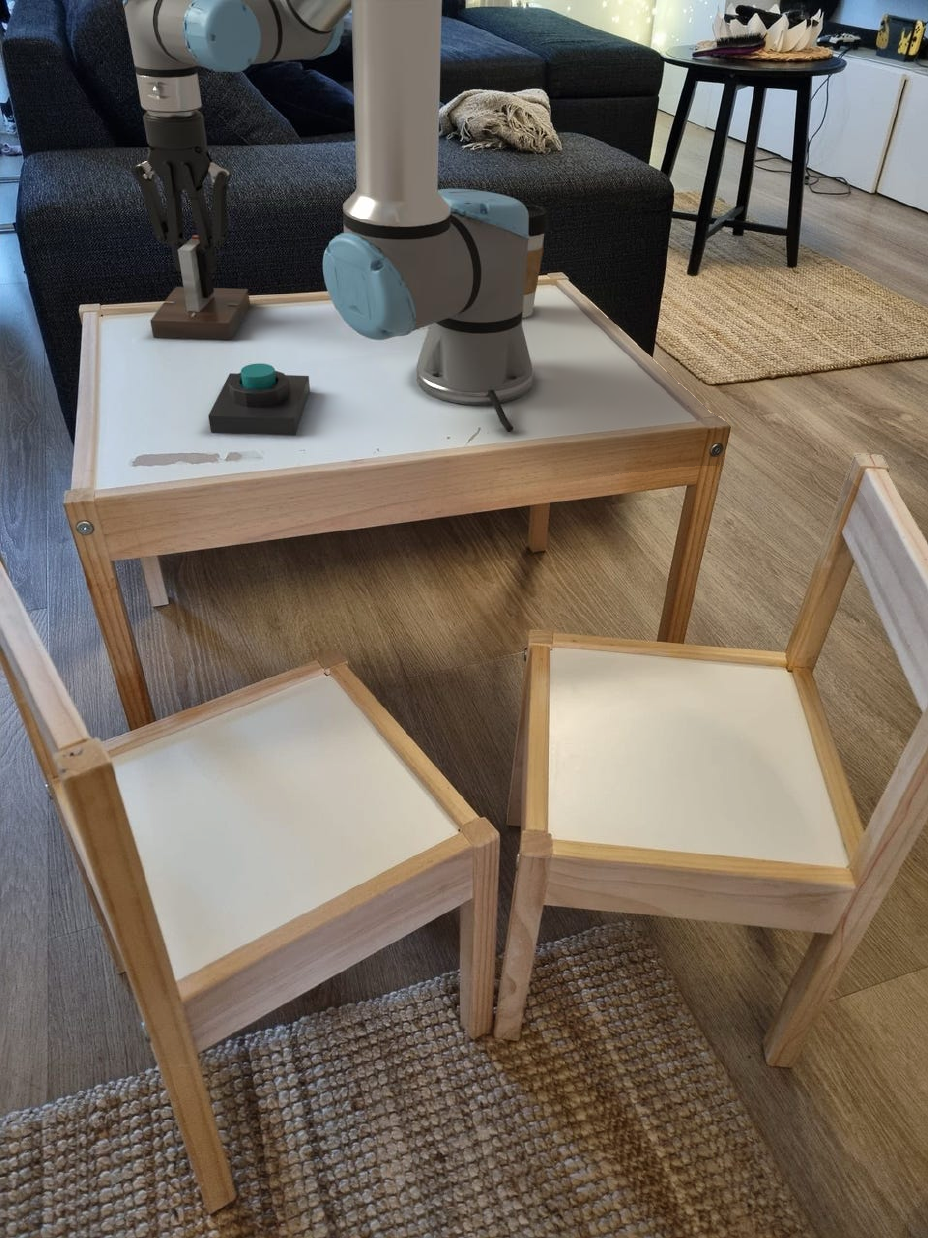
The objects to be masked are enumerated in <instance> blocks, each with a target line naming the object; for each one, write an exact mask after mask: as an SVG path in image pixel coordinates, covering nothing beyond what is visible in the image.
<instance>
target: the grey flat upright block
mask: <svg viewBox="0 0 928 1238" xmlns="http://www.w3.org/2000/svg"><path fill="white" fill-rule="evenodd" d="M199 247H200V242H199V238H198V234H194V235H192V236H191V239H189V240H188V241H187V242H185V243H183V246H182V247H181V248H180V249H178V255H179V261H180V267H181V271H180V272H181V278H182V279H181V280H182V287H184V292H185V299H186V305H187V311H194V312H200V311H201V310H202V309H203V308H204V307H205V306H206V305H207V304H208V303H209V301H210V300H211V299H212V298H213V297H214V292H213V293H212V294H211V295H210V296H209V297H208V298H203V296H202V289H201V282H200V275H199V269H198V262H197V255H196V251H197V250H198V249H199Z"/></svg>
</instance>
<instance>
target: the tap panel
mask: <svg viewBox="0 0 928 1238" xmlns="http://www.w3.org/2000/svg"><path fill="white" fill-rule="evenodd" d="M213 288H214V297H213V298H212V299H211V300H210V301H209V303H208V304H207V305H206V306H205V307H204V308H203V309H202V310H201V311H200V312H194V311H187V305H186V299H185V292H184V286H175V287H174V289H172V291H171V293H170V294H169V295H168V297H167V298H166V299H165V300H164V302H163V303H162V305H160V307H159V308H158V310H157V311H156V312H155V314H154V315H153V316H152V318H151V319H150V320H149V322H150V327H151V333H152V338H154V339H180V340H181V339H182V340H183V339H184V340H208V341H209V340H214V341H232V339H233V337H234V335H235V334H236V332H237V330H238V328H239V326H240V324H241V323H242V321H243V319H244V318H245V315H246V314H247V312H248V310H249V308H250V306H251V301H250V293H249V289H248V288H227V287H226V288H225V287H224V288H223V287H213Z"/></svg>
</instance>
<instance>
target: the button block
mask: <svg viewBox="0 0 928 1238" xmlns="http://www.w3.org/2000/svg"><path fill="white" fill-rule="evenodd" d="M275 377H276V385H274V386H272V387H269V388H264V389H249V388H246V387H243V385H242V378H241V371H240V372H238V373H235V372H233V373H232V372H231V373H229V374H228V376H227V379H226V380H225V382H224V384H223V386H222V388H221V389H220V392H219V394H218V396H217V398H216V399H215V402H214V404H213V405H212V407H211V410H210V411H209V413H208V424H209V429H210V433H213V434H214V433H215V434H217V433H218V434H245V435H246V434H247V435H250V434H251V435H275V436H276V435H279V436H280V435H281V436H296V435H297V431H298V429H299V426H300V423H301V419H302V417H303V414H304V411H305V408H306V405H307V402H308V399H309V396H310V393H311V386H310V385H311V384H310V376H309V375H292V374H291V375H289V374H286V373H284V372H280V371H278V370H275Z"/></svg>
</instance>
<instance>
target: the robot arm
mask: <svg viewBox="0 0 928 1238" xmlns="http://www.w3.org/2000/svg"><path fill="white" fill-rule="evenodd" d="M122 6H123V10H124V14H125V19H126V26H127V31H128V37H129V42H130V47H131V53H132V58H133V64H134V69H135V75H136V76H135V77H136V81H137V86H138V87H137V88H138V93H139V100H140V105H141V108H142V109H143V110H144V111H146V112H145V113H144V115H143V116H142V118H143V123H144V124H143V125H144V130H145V136H146V142H147V145H148V153H147V155H146V161H144V162H139V163H138V164H136V165H135V166H133V167H132V168H131V170H130V171H131V175H132V176H133V177H134V179H135V180H136V182H137V184H138V185H139V187H140V189H141V194H142V197H143V200H144V202H145V207H146V208H147V212H148V216H149V219H150V222H151V223H150V224H151V225H152V229H153V233H154V236H155V239H156V241H157V242H158V243H159V244H165V245H167V246H169V248H171V253H172V257H173V258H172V259H173V264H174V268H175V270H176V271H177V272H181V267H180V261H179V255H178V249H180V248H181V247H182V246H183V245H184V244H185V243H186V241H187V238H186V237H185V233H184V231H185V230H184V217H183V203H182V202H183V201H182V192H183V190H184V191H185V192H186V196H187V198H188V200H189V204H190V207H191V212H192V215H193V220H194V224H195V229H196V233H197V234H196V235H198V238H199V242H200V247H199V249H198V250H197V251H196V255H197V262H198V269H199V275H200V282H201V289H202V296H203V298H208V297H209V296H210V295H211V294H212V293H213V292H214V288H215V287H214V282H213V273H215V271H217V266H218V265H217V261H216V260H217V259H216V258H217V257H216V250H215V248H219V247H221V246H222V244H224V243H225V242H226V240H227V218H228V216H227V215H228V214H227V212H228V211H227V210H228V185H229V182H230V180H231V177H232V170H231V169H230V168H228V167H224V168H223V167H221V166H219V165H217V164H216V163H215V162H213V158H212V156H211V155H210V152H209V150H208V145H207V134H206V128H205V127H206V126H205V120H204V114H202V112H201V111H199V110H201V108H202V107H203V104H202V95H201V90H200V83H199V82H200V81H199V75H198V69H197V68H198V67H201V68H204V69H208V70H211V71H213V72H217V73H224V72H227V73H240V72H242V71H245V70H247V68H248V67H250V66H251V65H259V64H266V63H273V62H284V61H294V60H307V61H308V60H315V59H317V58H319V57H323V56H328V55H331V54H332V53H334V52H335V51H337V49H338V47H340V44H341V38H342V35H343V34H344V27H345V23H344V18H345V17H346V16H347V15H348V14H349V13H350V12H351V33H352V34H351V36H352V38H351V39H352V69H353V70H352V71H353V73H352V74H353V77H352V78H353V99H354V100H353V110H354V139H355V140H354V141H355V142H354V143H355V177H356V178H355V179H356V188H355V190H354V192H353V193H351V195H350V196H349V197H348V198H347V199H346V200H345V201H344V203H343V204H342V215H343V216H342V218H343V219H342V220H343V232H341V233H339V234H338V235H335V236H334V237H333V239H331V240H330V241H329V243H328V246H327V247H326V248H325V250H324V252H323V257H322V273H323V279H324V285H325V287H326V291H327V294H328V296H329V298H330V300H331V303H332V304H333V306H334V308H335V310H337V312H338V313H339V315H340V317H341V318H342V320H343V321H344V323H346V324H347V325H348V326H349V327H350V328H351V329H352V330H353V331H355V332H356V333H357V334H359V335H361V336H363V337H365V338H367V339H370V340H375V341H384V340H388V339H392V338H395V337H405V336H407V335H410V334H411V333H412V332H414V331H416V330H419V329H421V328H424V327H427V326H428V329H427V332H426V335H425V337H424V341H423V344H422V347H421V350H420V353H419V356H418V359H417V362H416V383H417V385H418V386H419V388H421V390H423V392H425V393H427V394H428V395H430V396H432V397H434V398H436V399H439V400H442V401H446V402H451V403H454V404H455V403H456V404H462V405H475V406H477V405H479V406H480V405H492V406H493V408H494V411H495V413H496V415H497V417H498V420H499V422H500V423H501V425H502V427H503V428H504V430H505V431H506V432H507V433H512V432H513V431H514V426H513V425H512V424H511V422H510V421H509V419H508V418H507V415H506V413H505V410H504V409H503V406H502V404H501V403H506V402H509V401H512V400H515V399H517V398H519V397H521V396H523V395H525V394H526V393H527V392H529V390H530V389H531V386H532V385H533V374H534V373H533V372H534V371H533V363H532V360H531V356H530V353H529V348H528V344H527V341H526V340H527V339H526V336H525V333H524V328H523V318H522V315H523V302H524V289H525V276H526V263H527V250H528V240H529V239H530V236H529V234H528V225H529V214H528V210H527V209H526V207H525V206H524V205H525V204H524V203H523V202H522V201H521V200H519V199H516V198H514V197H512V196H509V195H505V194H502V193H501V194H500V193H496V192H490V191H485V190H477V189H469V188H468V189H467V188H442V189H438V184H439V179H438V178H439V176H438V175H439V137H440V136H439V135H440V97H441V96H440V95H441V94H440V93H441V91H440V90H441V55H442V53H441V52H442V11H443V10H442V9H443V8H442V7H443V0H122ZM155 174H156V175H157V176H158V177H159V179H160V180H161V182H162V183H163V194H164V197H165V201H166V213H165V208H164V205H163V202H162V199H161V198H162V197H161V195H160V192H159V188H158V185H157V182H156V180H155ZM208 174H210V181H211V183H212V184H213V185H212V193H211V194H212V195H211V196H212V197H211V198H212V199H211V200H212V201H211V203H212V205H211V206H212V208H211V210H212V211H211V212H212V213H211V216H212V221H211V219H210V215H209V211H208V206H207V200H206V197H205V192H206V191H205V186H204V181H205V179H206V178H207V175H208ZM166 214H167V216H166Z"/></svg>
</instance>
